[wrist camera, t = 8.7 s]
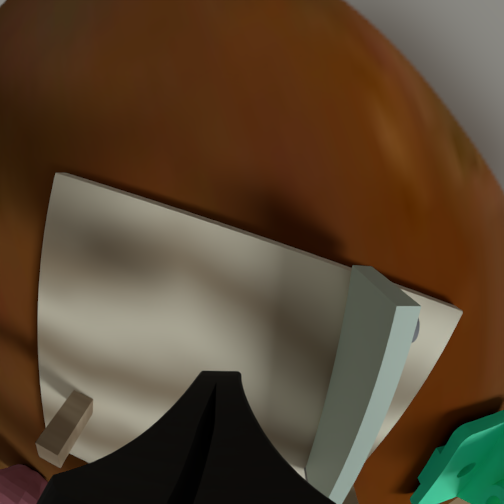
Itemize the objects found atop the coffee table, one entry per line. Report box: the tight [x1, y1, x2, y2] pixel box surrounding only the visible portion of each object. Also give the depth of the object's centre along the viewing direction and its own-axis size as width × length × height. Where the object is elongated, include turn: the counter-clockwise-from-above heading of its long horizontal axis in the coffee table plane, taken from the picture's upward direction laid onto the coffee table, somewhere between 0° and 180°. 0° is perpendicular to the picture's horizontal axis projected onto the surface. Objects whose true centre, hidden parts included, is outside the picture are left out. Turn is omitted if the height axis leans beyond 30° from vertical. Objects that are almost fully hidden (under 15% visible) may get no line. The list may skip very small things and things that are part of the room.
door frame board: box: [35, 173, 463, 504], centre depth 14 cm, size 22×24×6 cm
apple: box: [0, 464, 48, 504], centre depth 16 cm, size 10×9×10 cm
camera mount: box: [410, 410, 504, 504], centre depth 15 cm, size 12×8×10 cm, turn 178°
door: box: [304, 265, 421, 504], centre depth 13 cm, size 2×16×5 cm, turn 176°
